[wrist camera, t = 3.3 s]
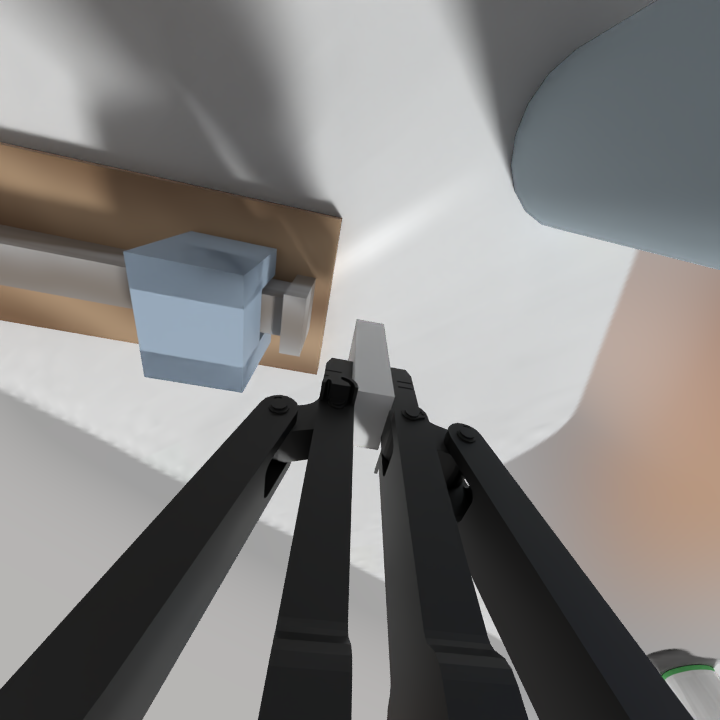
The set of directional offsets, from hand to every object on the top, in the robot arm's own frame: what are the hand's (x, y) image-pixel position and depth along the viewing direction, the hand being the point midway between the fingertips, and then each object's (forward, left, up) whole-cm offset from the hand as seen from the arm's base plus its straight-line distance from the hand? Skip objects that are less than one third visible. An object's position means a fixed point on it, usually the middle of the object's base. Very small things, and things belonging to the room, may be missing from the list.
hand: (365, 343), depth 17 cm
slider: (0, -9, -4) cm, 9 cm away
